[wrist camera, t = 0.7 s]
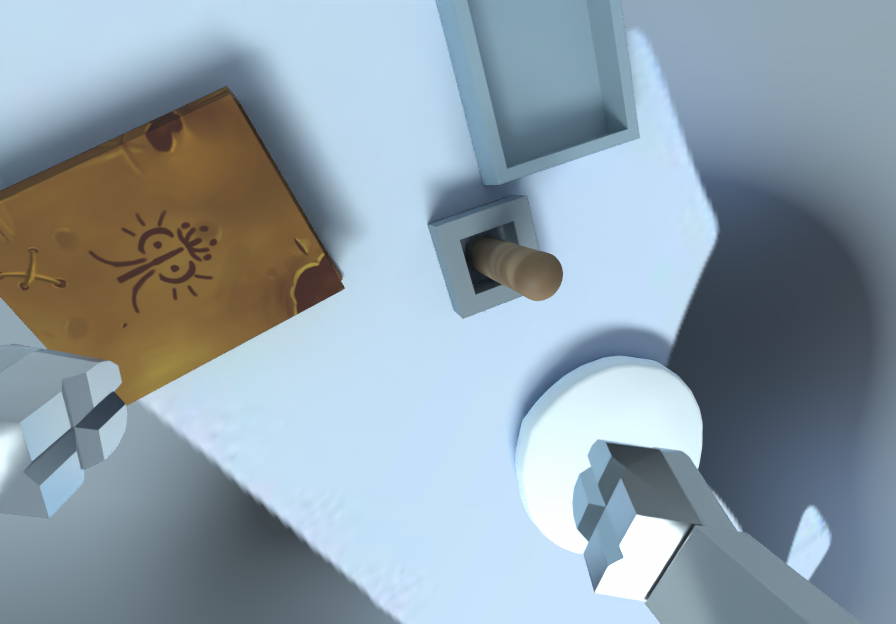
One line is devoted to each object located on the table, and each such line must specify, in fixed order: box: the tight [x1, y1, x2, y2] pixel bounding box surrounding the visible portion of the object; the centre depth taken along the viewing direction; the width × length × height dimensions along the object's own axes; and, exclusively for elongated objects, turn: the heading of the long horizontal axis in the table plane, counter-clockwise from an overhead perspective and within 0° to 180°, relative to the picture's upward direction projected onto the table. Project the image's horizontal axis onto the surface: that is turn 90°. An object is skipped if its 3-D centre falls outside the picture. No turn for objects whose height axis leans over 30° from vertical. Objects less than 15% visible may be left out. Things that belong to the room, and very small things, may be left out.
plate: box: [515, 355, 702, 554], centre depth 59 cm, size 28×6×27 cm
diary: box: [0, 86, 345, 406], centre depth 39 cm, size 23×19×6 cm
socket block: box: [428, 195, 539, 319], centre depth 48 cm, size 10×10×4 cm
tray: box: [436, 0, 640, 185], centre depth 44 cm, size 18×16×4 cm
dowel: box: [466, 235, 563, 301], centre depth 43 cm, size 4×4×14 cm
